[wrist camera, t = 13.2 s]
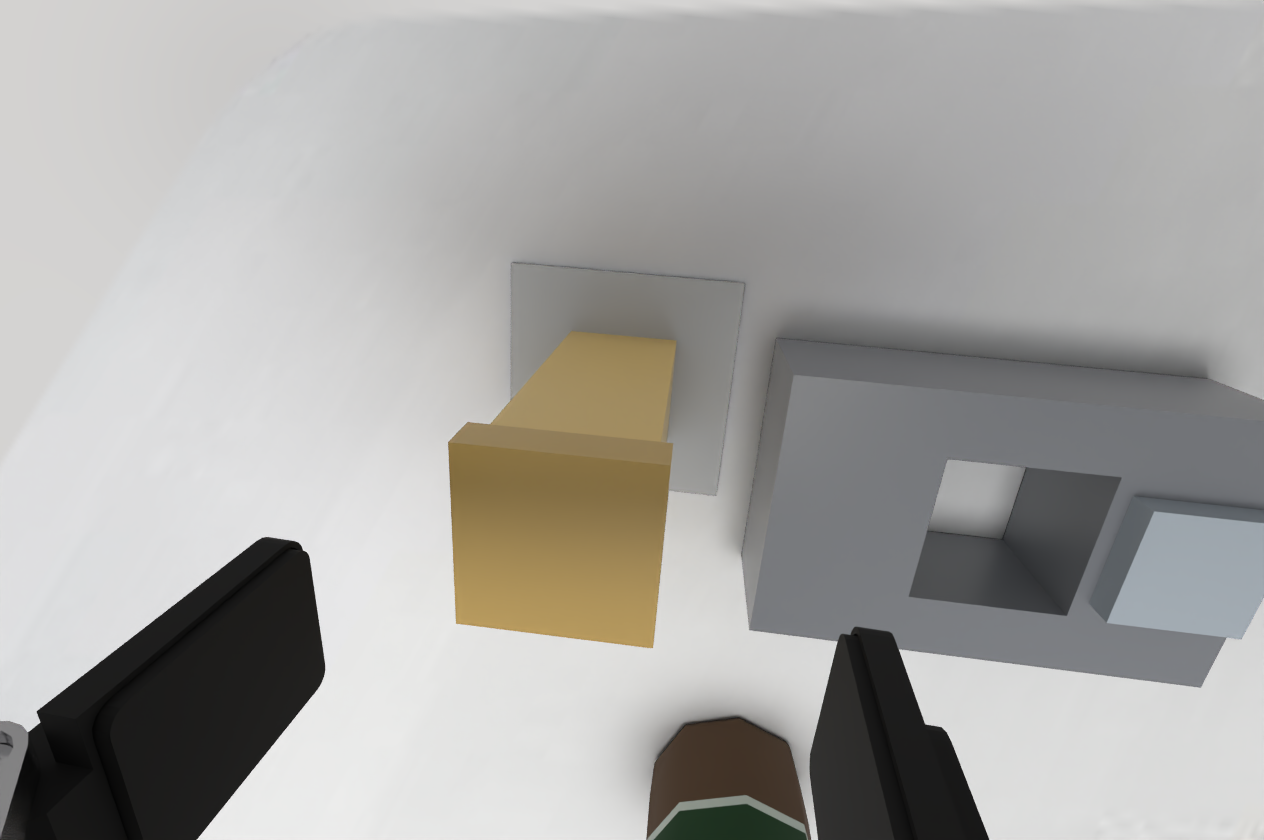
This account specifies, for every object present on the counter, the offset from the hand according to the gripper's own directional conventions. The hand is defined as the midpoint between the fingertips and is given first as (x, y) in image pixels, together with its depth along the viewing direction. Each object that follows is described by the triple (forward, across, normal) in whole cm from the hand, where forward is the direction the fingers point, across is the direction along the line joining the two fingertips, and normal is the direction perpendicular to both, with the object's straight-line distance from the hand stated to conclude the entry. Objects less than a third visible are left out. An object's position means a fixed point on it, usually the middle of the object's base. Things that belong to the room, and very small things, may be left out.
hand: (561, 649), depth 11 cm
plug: (+16, +2, 0) cm, 16 cm away
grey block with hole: (+16, -12, +3) cm, 21 cm away
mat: (+16, +2, 0) cm, 16 cm away
